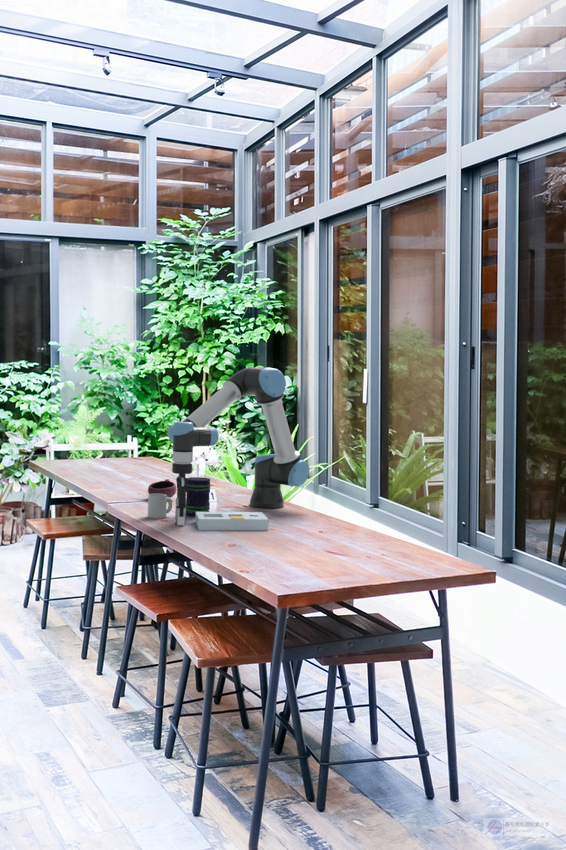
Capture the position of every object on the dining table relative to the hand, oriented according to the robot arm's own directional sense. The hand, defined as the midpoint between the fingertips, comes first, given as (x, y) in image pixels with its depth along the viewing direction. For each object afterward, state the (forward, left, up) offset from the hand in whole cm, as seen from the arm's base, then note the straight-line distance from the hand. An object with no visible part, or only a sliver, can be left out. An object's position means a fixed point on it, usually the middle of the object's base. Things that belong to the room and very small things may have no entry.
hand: (180, 523), depth 308 cm
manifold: (+3, +19, 0) cm, 19 cm away
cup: (-16, -7, -1) cm, 17 cm away
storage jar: (-20, +8, -1) cm, 22 cm away
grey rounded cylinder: (0, 0, 0) cm, 0 cm away
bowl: (-63, -5, -1) cm, 63 cm away
